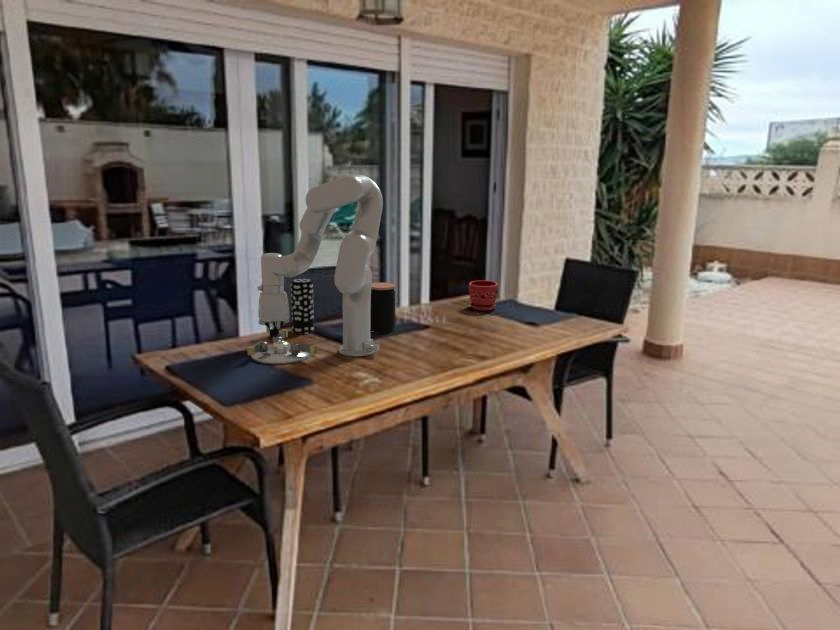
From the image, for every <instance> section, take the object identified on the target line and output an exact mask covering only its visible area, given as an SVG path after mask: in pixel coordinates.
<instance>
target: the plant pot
mask: <svg viewBox="0 0 840 630" xmlns="http://www.w3.org/2000/svg"><path fill="white" fill-rule="evenodd" d="M498 291H499V283H498V282H497V281H493V280H488V279H487V280H485V279H484V280H473V281H470V282H469V283H468V295H469V300H470V302H471V303H469V304H470V307H471V308H472V309H474V310H477V311H483V312H484V311H486V312H487V311H492V310H494V309H495V308H496V306H497V304H496V303H495V302H496V301H497V298H498V293H499V292H498Z"/></svg>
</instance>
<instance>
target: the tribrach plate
mask: <svg viewBox="0 0 840 630" xmlns="http://www.w3.org/2000/svg"><path fill="white" fill-rule="evenodd" d="M290 344H291V343H289V341H288V340H285V339H283V340H278V341H275V342H274V343H273V342H272V343H270V344H268V351H267V352H257V353H255V355H253V356H252V355H250V358H251V360H252V359H253V361H254V360H255V361H254V362H256V363H258V364H259V363H260V364H264V365H287V364H288V365H290V364H295V363H299V362H302V361H305V360H307V359H309V358H310V357H311V356H312V354H310V353H307V352H301V351H300V353H299V354H291V347H290ZM273 345H274V346H273Z"/></svg>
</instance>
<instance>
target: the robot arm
mask: <svg viewBox="0 0 840 630" xmlns="http://www.w3.org/2000/svg"><path fill="white" fill-rule="evenodd" d="M383 199H384V198H383V194H382V191H381V189H380V187H379V186H378V185H377V183H376V182H375V181H374V179H371V178H370V177H368V176H366V175H363V174H349V175H345V176H343V177H339V178H337V179H334V180H330V181H328V182H326V183H322V184H319V185H317V186H316V185H315V186H313V187H311V188H310V189H309V190H308V191H307V193H306V196H305V205H306V209H305V212H304V214H303V215H302V217H301V219H300V221H299V224H298V225H299V230H300V232H301V233H300V239H299V241H298V243H297V246H296V248H295V249H294V251H293V253H290V254H287V255H282V254H281V253H278V252H277V253H276V252H266V253H263V254H262V255H261V257H260V268H261V269H260V272H261V284H260V285H259V286H257V291H261V292H260V293H259V299H258V322H257V323H258V325H261V326H265V327H267V328H268V329H269V337H270V339H271V340H272V341H273V336H277V334H279V333H280V329H281V327H282V326H283V325H284V324H287V323H290V308H289V307H290V306H289V299H288V293H287V292H286V291H285V277H286V278H295V277H297V276H299V275H301V274H303V273H305V272H306V271H308V270H309V268H310V267H311V265H312V263H313V262H314V260H315V258H316V256H317V254H318V252H319V249H320V246H321V243H322V239H323V234H324V233H325V231H326V229H327V226H328V225H329V222H330V220H331V219H332V217H333V215H334V213H335V211H336V209H337V208H341V207H344V206H346V205H347V206H348V205H350V204H354V203H357V208H356V211H355V213H354V215H355V216H354V219H353V224H352V229H351V232H350V233H349V234H347V235H346V236H345V237H344V238H343V239H342V240H341V243H340V246H339V249H338V250H339V251H338V254H337V260H336V265H335V271H334V276H333V277H334V278H333V279H334V280H333V281H334V286H335V288H336V289H337V290H338V292H340V293H341V294H342V345H340V346H339V347H338V353H339V354H340V355H342V356H346V357H357V358H359V357H365V356H370V355H373V354H374V353H376V352H379V351H380V344H379V343H374V338H371V331H370V308H371V286H372V283H373V273H372V269H371V268H370V266H369V265H368V264H367V262H368V258H370V257H371V256H372V255H373V254H374V252H375V251H376V246H377V240H378V235H379V230H380V224H381V219H382V213H383V207H384V206H383V205H384V200H383ZM273 323H274V324H275V325H274V324H273Z"/></svg>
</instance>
